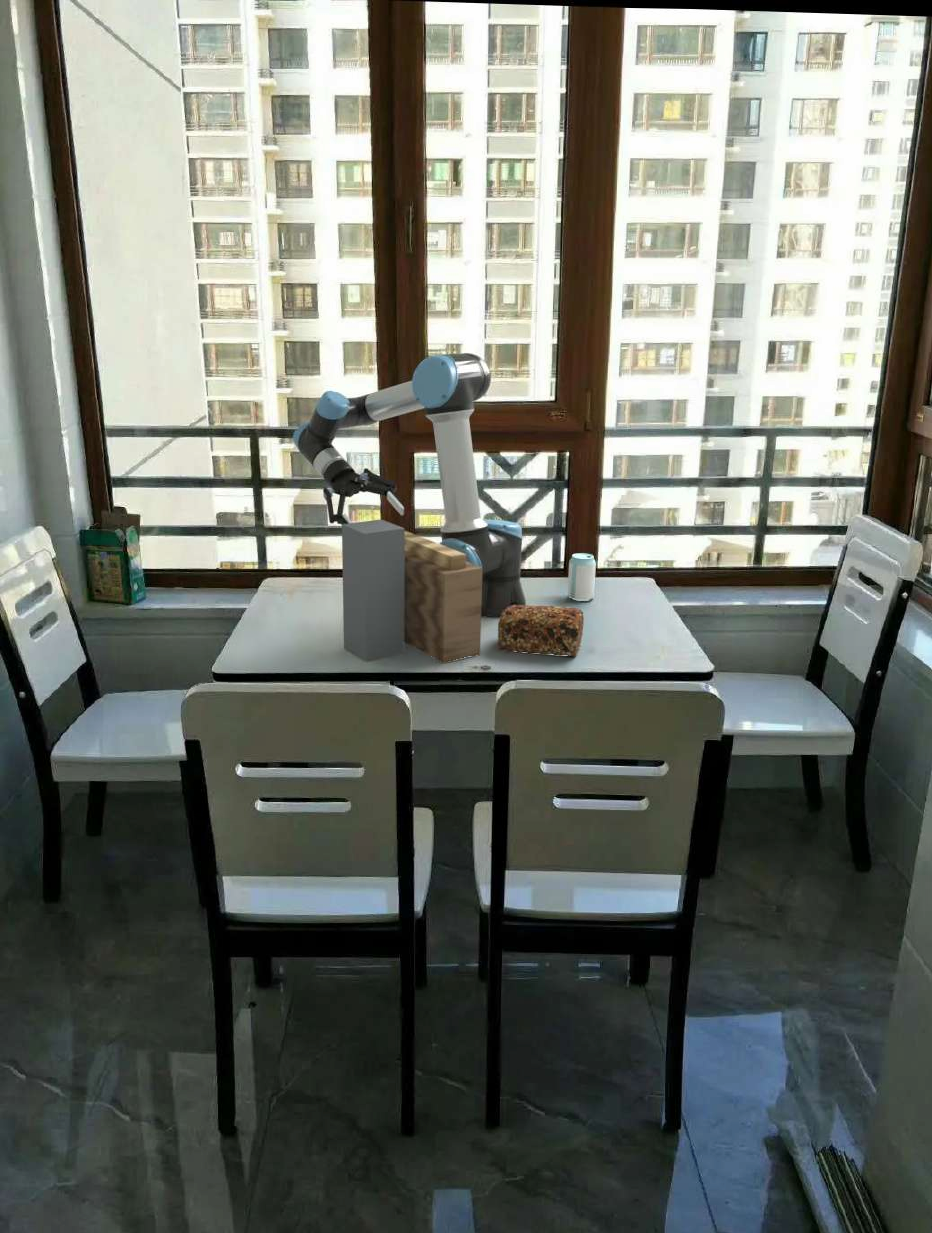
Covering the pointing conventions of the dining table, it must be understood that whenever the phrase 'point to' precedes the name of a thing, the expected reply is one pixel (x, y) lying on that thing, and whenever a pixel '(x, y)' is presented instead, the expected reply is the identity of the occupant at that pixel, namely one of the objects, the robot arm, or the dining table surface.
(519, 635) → the bread
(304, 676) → the dining table surface
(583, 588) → the can
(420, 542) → the oak bar
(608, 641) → the dining table surface
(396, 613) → the stand
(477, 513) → the robot arm
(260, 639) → the dining table surface
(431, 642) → the wood grain brick
